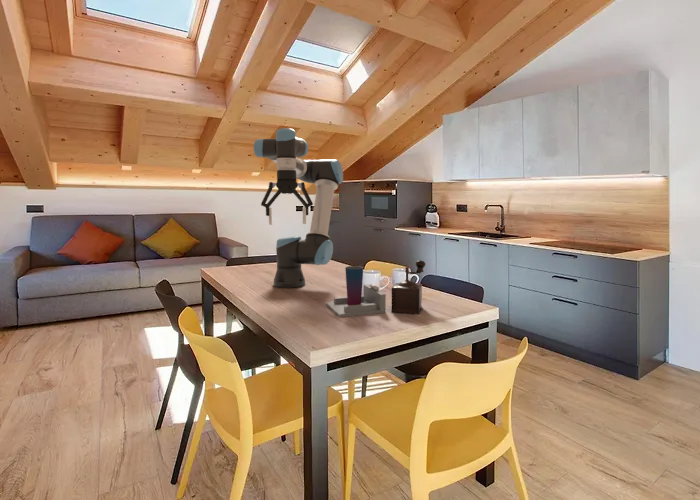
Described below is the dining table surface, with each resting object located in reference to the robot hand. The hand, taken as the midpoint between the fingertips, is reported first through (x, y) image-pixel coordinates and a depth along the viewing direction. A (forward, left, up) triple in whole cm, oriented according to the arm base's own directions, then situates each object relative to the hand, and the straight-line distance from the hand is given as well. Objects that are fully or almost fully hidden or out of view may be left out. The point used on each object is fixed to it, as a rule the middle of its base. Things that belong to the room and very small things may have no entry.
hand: (287, 224), depth 166 cm
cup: (+18, +22, -31) cm, 42 cm away
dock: (+18, +22, -32) cm, 43 cm away
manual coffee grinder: (+24, +42, -32) cm, 58 cm away
